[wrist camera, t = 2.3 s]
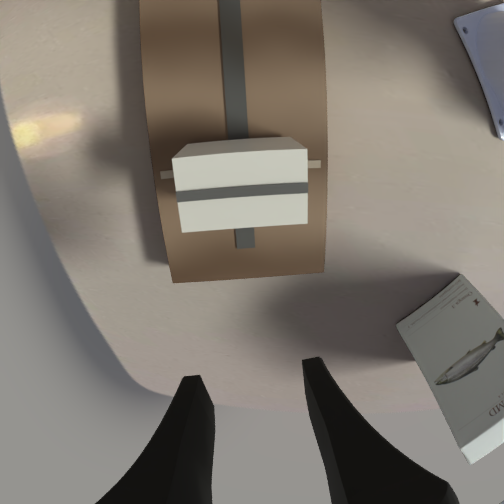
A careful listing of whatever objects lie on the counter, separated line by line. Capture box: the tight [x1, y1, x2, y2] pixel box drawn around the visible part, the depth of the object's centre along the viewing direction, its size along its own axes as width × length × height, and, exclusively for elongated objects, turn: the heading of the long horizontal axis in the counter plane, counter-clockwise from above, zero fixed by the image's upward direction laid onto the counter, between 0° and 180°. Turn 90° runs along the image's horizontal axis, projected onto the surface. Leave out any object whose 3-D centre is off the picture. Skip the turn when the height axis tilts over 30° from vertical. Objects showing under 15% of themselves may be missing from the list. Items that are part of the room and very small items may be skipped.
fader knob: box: [172, 137, 308, 233], centre depth 14 cm, size 3×5×4 cm, turn 93°
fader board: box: [139, 0, 328, 283], centre depth 14 cm, size 26×9×2 cm, turn 3°
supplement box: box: [396, 274, 504, 464], centre depth 19 cm, size 7×7×13 cm
